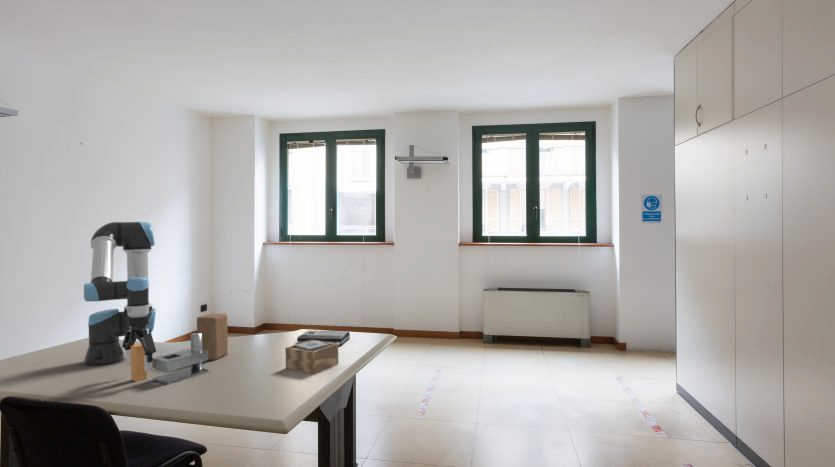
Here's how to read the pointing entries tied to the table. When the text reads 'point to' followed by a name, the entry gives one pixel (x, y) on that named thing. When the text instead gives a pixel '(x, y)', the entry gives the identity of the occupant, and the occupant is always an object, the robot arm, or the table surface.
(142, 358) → the orange square bar
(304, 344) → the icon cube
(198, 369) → the grey slotted stand
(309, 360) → the box
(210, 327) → the wooden block
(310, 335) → the radio
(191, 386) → the table surface
